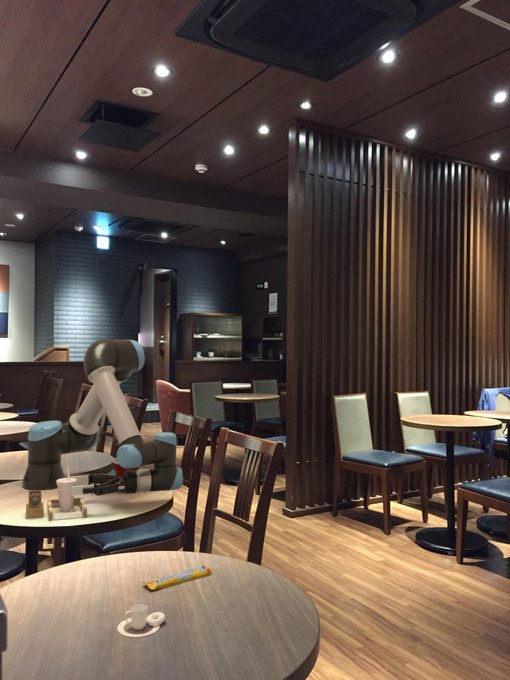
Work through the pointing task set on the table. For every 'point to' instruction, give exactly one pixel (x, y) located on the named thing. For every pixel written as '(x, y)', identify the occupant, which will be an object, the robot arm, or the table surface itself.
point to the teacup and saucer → (141, 620)
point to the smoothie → (66, 492)
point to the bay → (55, 504)
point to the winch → (34, 505)
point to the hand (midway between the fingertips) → (69, 485)
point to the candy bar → (178, 578)
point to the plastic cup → (121, 469)
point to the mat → (67, 515)
